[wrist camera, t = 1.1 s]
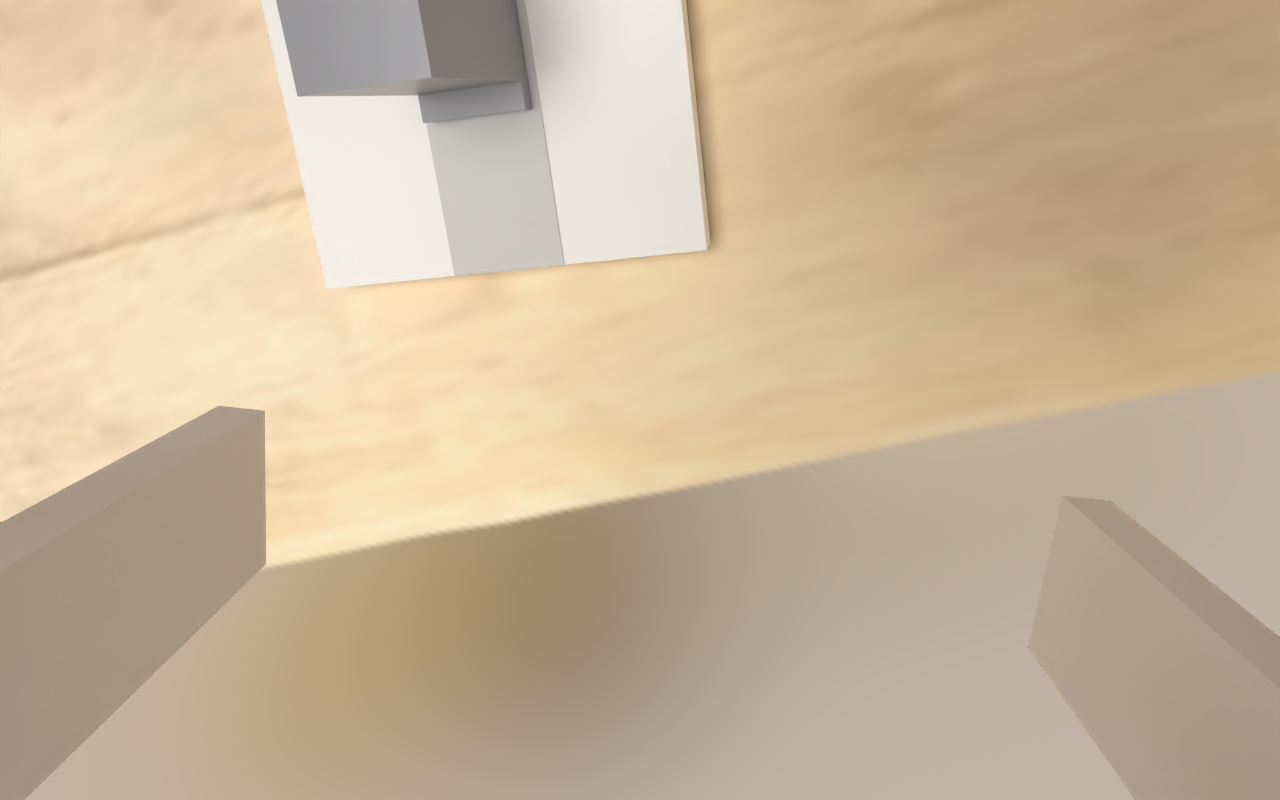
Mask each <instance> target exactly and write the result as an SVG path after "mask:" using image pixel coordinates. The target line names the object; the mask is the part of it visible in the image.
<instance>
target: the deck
mask: <svg viewBox="0 0 1280 800" xmlns="http://www.w3.org/2000/svg"><path fill="white" fill-rule="evenodd" d="M261 3H262V8H263V12H264V16H265V21H266V25H267V30H268V34H269V38H270V43H271V47H272V51H273V56H274V60H275V65H276V69H277V73H278V78H279V82H280V86H281V91H282V95H283V99H284V104H285V108H286V113H287V117H288V121H289V126H290V130H291V134H292V139H293V143H294V148H295V152H296V156H297V161H298V165H299V169H300V174H301V178H302V183H303V187H304V191H305V196H306V200H307V204H308V209H309V213H310V217H311V222H312V226H313V231H314V235H315V239H316V244H317V248H318V252H319V257H320V261H321V266H322V270H323V274H324V279H325V283H326V287H327V289H330V288H340V287H350V286H360V285H370V284H380V283H389V282H399V281H409V280H419V279H429V278H439V277H448V276H462V275H472V274H482V273H491V272H501V271H511V270H521V269H531V268H541V267H550V266H560V265H566V264H576V263H586V262H596V261H606V260H615V259H625V258H635V257H645V256H655V255H665V254H674V253H684V252H694V251H704V250H707V249H708V247H709V245H710V243H711V240H710V230H709V221H708V211H707V201H706V191H705V181H704V171H703V161H702V151H701V142H700V132H699V122H698V112H697V102H696V92H695V82H694V72H693V62H692V53H691V43H690V33H689V23H688V13H687V3H686V0H516V6H517V12H518V19H519V26H520V32H521V39H522V45H523V52H524V58H525V65H526V72H527V78H528V85H529V91H530V98H531V104H532V109H529V110H522V111H514V112H507V113H499V114H492V115H484V116H477V117H469V118H462V119H454V120H447V121H440V122H432V123H423V120H422V115H421V110H420V104H419V99H418V95H409V96H301V97H298V96H297V92H296V87H295V83H294V78H293V74H292V69H291V65H290V60H289V56H288V51H287V47H286V43H285V38H284V34H283V29H282V25H281V20H280V16H279V11H278V7H277V2H276V0H261Z"/></svg>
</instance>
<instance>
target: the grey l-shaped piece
mask: <svg viewBox="0 0 1280 800" xmlns="http://www.w3.org/2000/svg"><path fill="white" fill-rule="evenodd" d="M276 2H277V7H278V11H279V16H280V20H281V25H282V29H283V34H284V38H285V43H286V47H287V51H288V56H289V60H290V65H291V69H292V74H293V78H294V83H295V87H296V92H297V96H298V97H301V96H409V95H418V99H419V104H420V110H421V115H422V120H423V123H432V122H440V121H447V120H454V119H462V118H469V117H477V116H484V115H492V114H499V113H507V112H514V111H522V110H529V109H532V104H531V98H530V91H529V85H528V78H527V72H526V65H525V58H524V52H523V45H522V39H521V32H520V26H519V19H518V12H517V6H516V0H276Z"/></svg>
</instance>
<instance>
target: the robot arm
mask: <svg viewBox="0 0 1280 800" xmlns="http://www.w3.org/2000/svg"><path fill="white" fill-rule="evenodd" d="M265 564H266V510H265V411H262V410H252V409H243V408H234V407H224V406H218V407H216V408H214V409H212V410H210V411H208V412H207V413H205V414H203V415H201V416H199V417H197V418H195V419H194V420H192V421H190V422H188V423H186V424H184V425H182V426H180V427H179V428H177V429H175V430H173V431H171V432H169V433H167V434H166V435H164V436H162V437H160V438H158V439H156V440H154V441H153V442H151V443H149V444H147V445H145V446H143V447H141V448H139V449H138V450H136V451H134V452H132V453H130V454H128V455H126V456H125V457H123V458H121V459H119V460H117V461H115V462H113V463H111V464H110V465H108V466H106V467H104V468H102V469H100V470H98V471H97V472H95V473H93V474H91V475H89V476H87V477H85V478H84V479H82V480H80V481H78V482H76V483H74V484H72V485H70V486H69V487H67V488H65V489H63V490H61V491H59V492H57V493H56V494H54V495H52V496H50V497H48V498H46V499H44V500H43V501H41V502H39V503H37V504H35V505H33V506H31V507H29V508H28V509H26V510H24V511H22V512H20V513H18V514H16V515H15V516H13V517H11V518H9V519H7V520H5V521H3V522H0V800H25V799H26V798H27V797H28V796H29V795H30V794H31V793H32V792H33V791H34V790H35V789H36V788H37V787H38V786H39V785H40V784H41V783H42V782H43V781H44V780H45V779H46V778H47V777H48V776H49V775H50V774H51V773H52V772H53V771H54V770H55V769H56V768H57V767H58V766H59V765H61V764H62V763H63V761H65V760H66V758H68V757H69V756H70V755H71V754H72V753H73V752H74V751H75V750H76V749H77V748H78V747H79V746H80V745H81V744H82V743H83V742H84V741H85V740H86V739H87V738H88V737H89V736H90V735H91V734H92V733H93V732H94V731H95V730H96V729H97V728H98V727H99V726H100V725H101V724H103V723H104V722H105V721H106V720H107V719H108V718H109V717H110V716H111V715H112V714H113V713H114V712H115V711H116V710H117V709H118V708H119V707H120V706H121V705H122V704H123V703H124V702H125V701H126V700H127V699H128V698H129V697H130V696H131V695H132V694H133V693H134V692H135V691H136V690H137V689H138V688H139V687H140V686H141V685H142V684H143V683H144V682H146V681H147V679H149V678H150V677H151V676H152V675H153V674H154V673H155V672H156V671H157V670H158V669H159V668H160V667H161V666H162V665H163V664H164V663H165V662H166V661H167V660H168V659H169V658H170V657H171V656H172V655H173V654H174V653H175V652H176V651H177V650H178V649H179V648H180V647H181V646H182V645H183V644H184V643H185V642H187V641H188V640H189V639H190V638H191V637H192V636H193V635H194V634H195V633H196V632H197V631H198V630H199V629H200V628H201V627H202V626H203V625H204V624H205V623H206V622H207V621H208V620H209V619H210V618H211V617H212V616H213V615H214V614H215V613H216V612H217V611H218V610H219V609H220V608H221V607H222V606H223V605H224V604H225V603H226V602H227V601H228V600H230V598H232V596H234V595H235V593H237V592H238V591H239V590H240V589H241V588H242V587H243V586H244V585H245V584H246V583H247V582H248V581H249V580H250V579H251V578H252V577H253V576H254V575H255V574H256V573H257V572H258V571H259V570H260V569H261V568H262V567H263V566H264V565H265ZM1028 648H1029V650H1030V651H1031V652H1032V654H1033V655H1034V657H1035V658H1036V660H1037V661H1038V662H1039V664H1040V665H1041V667H1042V668H1043V669H1044V671H1045V672H1046V674H1047V675H1048V677H1049V678H1050V679H1051V681H1052V682H1053V684H1054V685H1055V687H1056V688H1057V689H1058V691H1059V692H1060V694H1061V695H1062V696H1063V698H1064V699H1065V701H1066V702H1067V704H1068V705H1069V706H1070V708H1071V709H1072V711H1073V712H1074V714H1075V715H1076V716H1077V718H1078V719H1079V721H1080V722H1081V723H1082V725H1083V726H1084V728H1085V729H1086V730H1087V732H1088V733H1089V735H1090V736H1091V738H1092V739H1093V740H1094V742H1095V743H1096V745H1097V746H1098V748H1099V749H1100V750H1101V752H1102V753H1103V755H1104V756H1105V757H1106V759H1107V760H1108V762H1109V763H1110V764H1111V766H1112V767H1113V769H1114V770H1115V772H1116V773H1117V775H1118V776H1119V777H1120V779H1121V780H1122V782H1123V783H1124V784H1125V786H1126V787H1127V788H1128V790H1129V791H1130V793H1131V794H1132V796H1133V797H1134V799H1135V800H1280V637H1279V636H1277V635H1276V634H1275V633H1273V631H1271V630H1270V629H1269V628H1268V627H1266V626H1265V625H1264V624H1263V623H1261V622H1260V621H1259V620H1258V619H1256V618H1255V617H1254V616H1253V615H1251V614H1250V613H1249V612H1248V611H1246V610H1245V609H1244V608H1243V607H1242V606H1240V605H1239V604H1238V603H1236V602H1235V601H1234V600H1233V599H1232V598H1230V597H1229V596H1228V595H1227V594H1225V593H1224V592H1223V591H1222V590H1220V589H1219V588H1218V587H1217V586H1215V585H1214V584H1213V583H1212V582H1210V581H1209V580H1208V579H1207V578H1205V577H1204V576H1203V575H1202V574H1200V573H1199V572H1198V571H1197V570H1195V569H1194V568H1193V567H1192V566H1190V565H1189V564H1188V563H1187V562H1185V561H1184V560H1183V559H1182V558H1181V557H1179V556H1178V555H1177V554H1176V553H1174V552H1173V551H1172V550H1171V549H1169V548H1168V547H1167V546H1166V545H1164V544H1163V543H1162V542H1161V541H1159V540H1158V539H1157V538H1156V537H1154V536H1153V535H1152V534H1151V533H1149V532H1148V531H1147V530H1146V529H1144V528H1143V527H1142V526H1141V525H1140V524H1138V523H1137V522H1136V521H1135V520H1133V519H1132V518H1131V517H1130V516H1128V515H1127V514H1126V513H1124V512H1123V511H1122V510H1121V509H1119V508H1118V507H1117V506H1116V505H1115V504H1113V503H1112V502H1111V501H1104V500H1094V499H1086V498H1076V497H1066V496H1063V499H1062V503H1061V507H1060V512H1059V516H1058V521H1057V525H1056V529H1055V533H1054V538H1053V542H1052V546H1051V551H1050V555H1049V559H1048V564H1047V568H1046V573H1045V577H1044V581H1043V586H1042V590H1041V594H1040V598H1039V603H1038V607H1037V611H1036V616H1035V620H1034V625H1033V629H1032V634H1031V637H1030V642H1029V646H1028Z"/></svg>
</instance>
